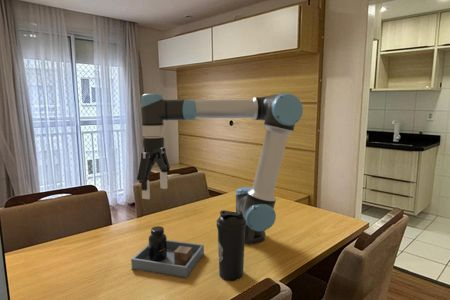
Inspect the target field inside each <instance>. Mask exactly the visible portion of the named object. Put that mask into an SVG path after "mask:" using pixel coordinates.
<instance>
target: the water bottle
mask: <svg viewBox="0 0 450 300" xmlns="http://www.w3.org/2000/svg"><path fill="white" fill-rule="evenodd" d="M219 214H220V216H219V217H218V218H217V220H216V228H217V246H218V247H217V248H218V249H217V250H218V272H219V273H218V274H219V277H220V278H221V279H222V280H224V281H227V282H235V281H239V280H241V279H242V278H243V277H242V276H244V263H245V261H244V260H245V258H244V257H245V244H244V241H245V228H246V220H245V219H244V217H243V214H242V212H241V211H240V210H238V211H237V212H236V211H229V210H223V209H222V210H220V211H219ZM240 278H241V279H240ZM238 279H239V280H238Z"/></svg>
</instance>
